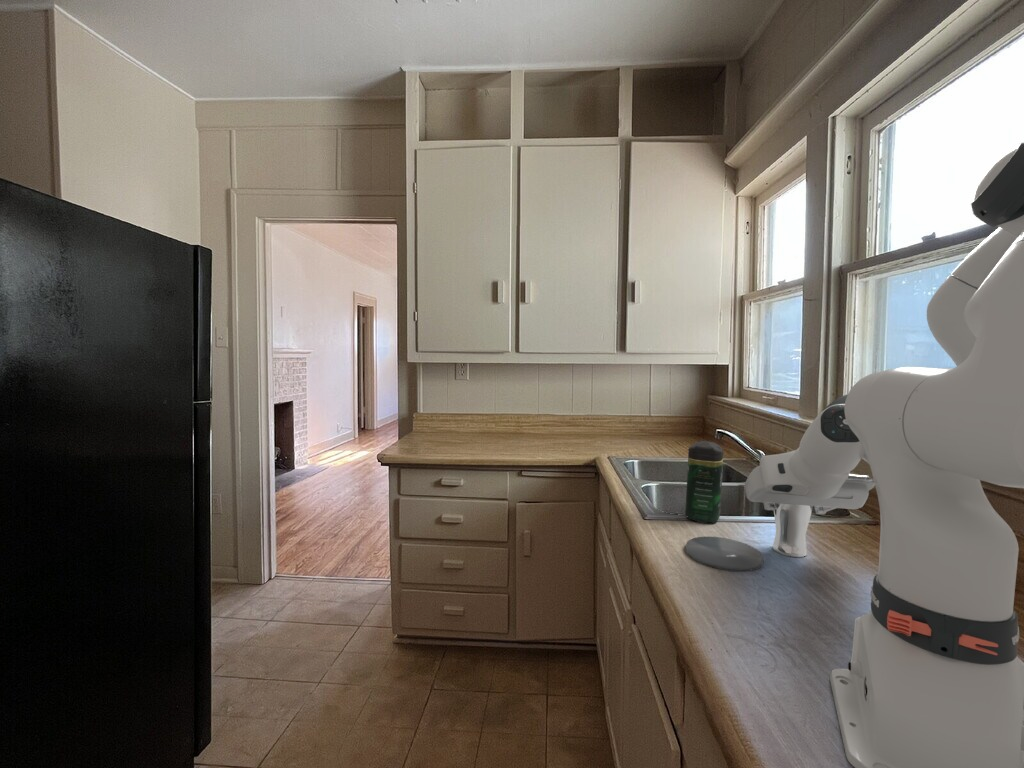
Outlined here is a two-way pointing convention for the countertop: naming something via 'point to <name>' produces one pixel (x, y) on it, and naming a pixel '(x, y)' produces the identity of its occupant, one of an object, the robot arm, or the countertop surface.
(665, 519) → the countertop surface
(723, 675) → the countertop surface
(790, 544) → the beer glass
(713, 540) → the coaster
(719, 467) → the coffee jar
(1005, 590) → the robot arm
